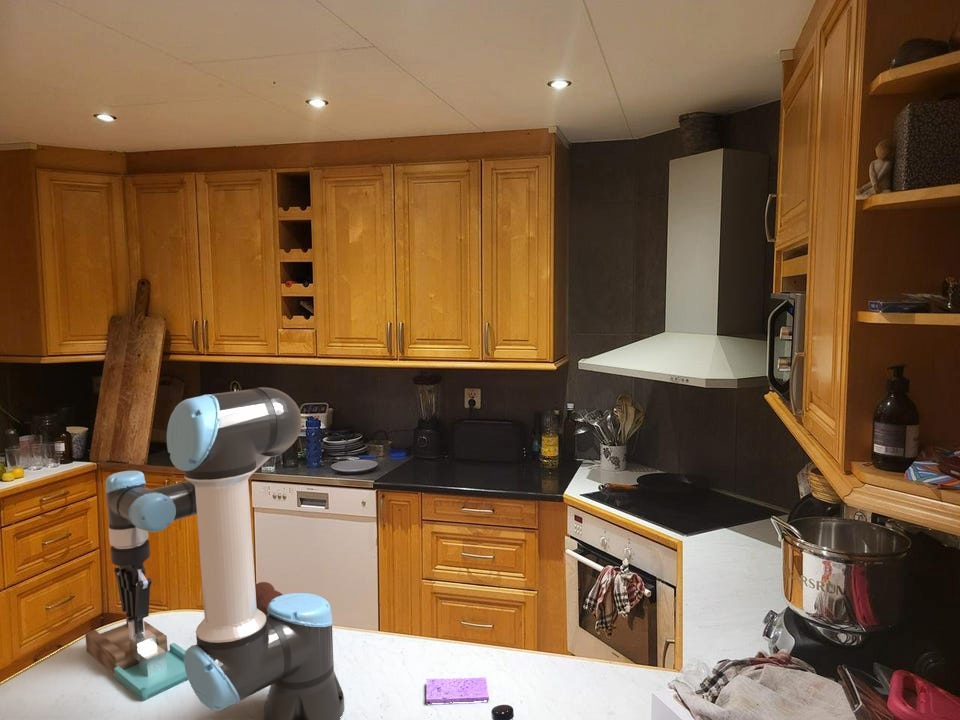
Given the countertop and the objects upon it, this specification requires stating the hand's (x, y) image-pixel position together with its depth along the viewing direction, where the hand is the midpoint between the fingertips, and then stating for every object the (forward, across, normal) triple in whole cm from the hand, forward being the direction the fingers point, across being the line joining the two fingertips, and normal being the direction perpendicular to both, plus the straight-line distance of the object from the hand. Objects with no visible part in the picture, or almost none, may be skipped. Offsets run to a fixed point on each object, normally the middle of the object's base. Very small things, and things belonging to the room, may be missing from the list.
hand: (137, 645), depth 149 cm
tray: (+4, -8, 0) cm, 9 cm away
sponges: (+5, -63, -35) cm, 72 cm away
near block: (+1, -5, 0) cm, 5 cm away
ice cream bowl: (+4, -17, -21) cm, 27 cm away
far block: (+1, -3, 0) cm, 3 cm away
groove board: (+4, +6, 0) cm, 7 cm away
